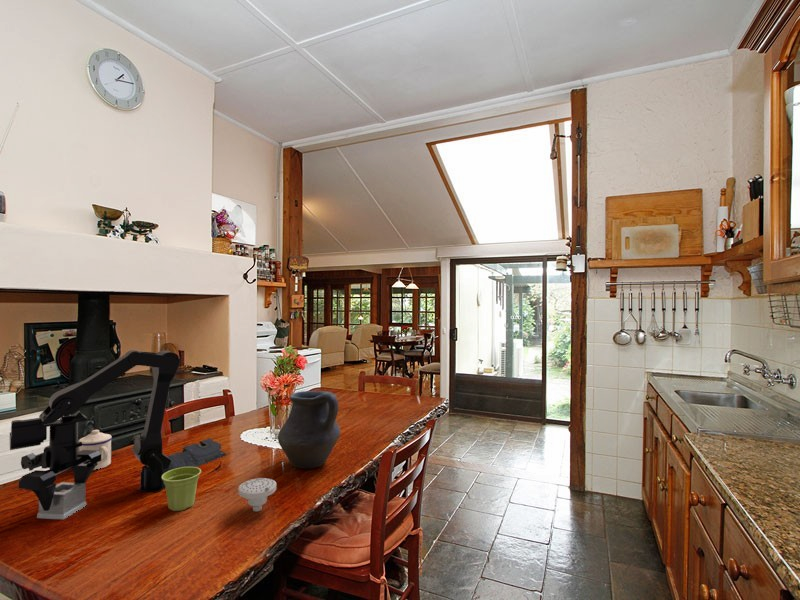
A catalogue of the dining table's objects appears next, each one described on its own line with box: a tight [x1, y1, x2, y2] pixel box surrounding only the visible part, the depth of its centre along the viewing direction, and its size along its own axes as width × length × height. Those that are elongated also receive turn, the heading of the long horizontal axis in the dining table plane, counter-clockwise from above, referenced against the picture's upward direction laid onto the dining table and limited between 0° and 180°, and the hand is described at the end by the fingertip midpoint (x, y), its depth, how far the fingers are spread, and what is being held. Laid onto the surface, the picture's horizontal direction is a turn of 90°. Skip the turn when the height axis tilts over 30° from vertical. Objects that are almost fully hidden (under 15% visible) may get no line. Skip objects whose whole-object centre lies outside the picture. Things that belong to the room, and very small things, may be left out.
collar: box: [38, 481, 87, 515], centre depth 108 cm, size 7×7×5 cm
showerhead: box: [238, 477, 277, 512], centre depth 111 cm, size 9×7×10 cm
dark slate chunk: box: [166, 437, 228, 471], centre depth 144 cm, size 15×22×5 cm
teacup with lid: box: [78, 429, 113, 471], centre depth 137 cm, size 12×9×12 cm
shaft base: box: [36, 490, 88, 520], centre depth 108 cm, size 7×7×6 cm
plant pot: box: [162, 467, 202, 512], centre depth 112 cm, size 9×9×9 cm
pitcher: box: [277, 390, 341, 470], centre depth 142 cm, size 21×22×25 cm
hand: (62, 501), depth 108 cm, fingers open, 9 cm apart
